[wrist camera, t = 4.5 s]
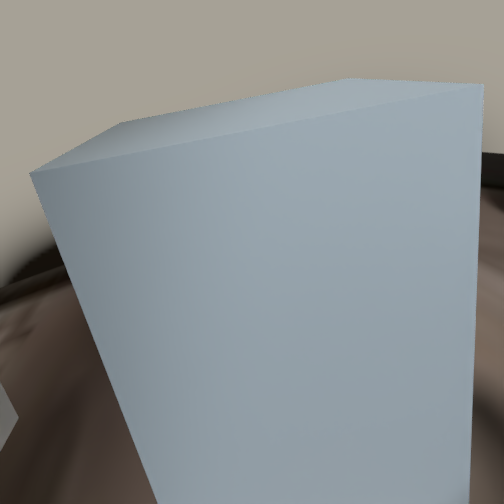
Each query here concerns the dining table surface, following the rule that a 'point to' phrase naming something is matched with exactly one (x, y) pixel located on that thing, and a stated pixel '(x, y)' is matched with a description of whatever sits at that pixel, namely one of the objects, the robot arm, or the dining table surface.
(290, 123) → the slate block
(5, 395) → the robot arm
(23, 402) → the dining table surface
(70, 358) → the dining table surface
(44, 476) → the dining table surface
